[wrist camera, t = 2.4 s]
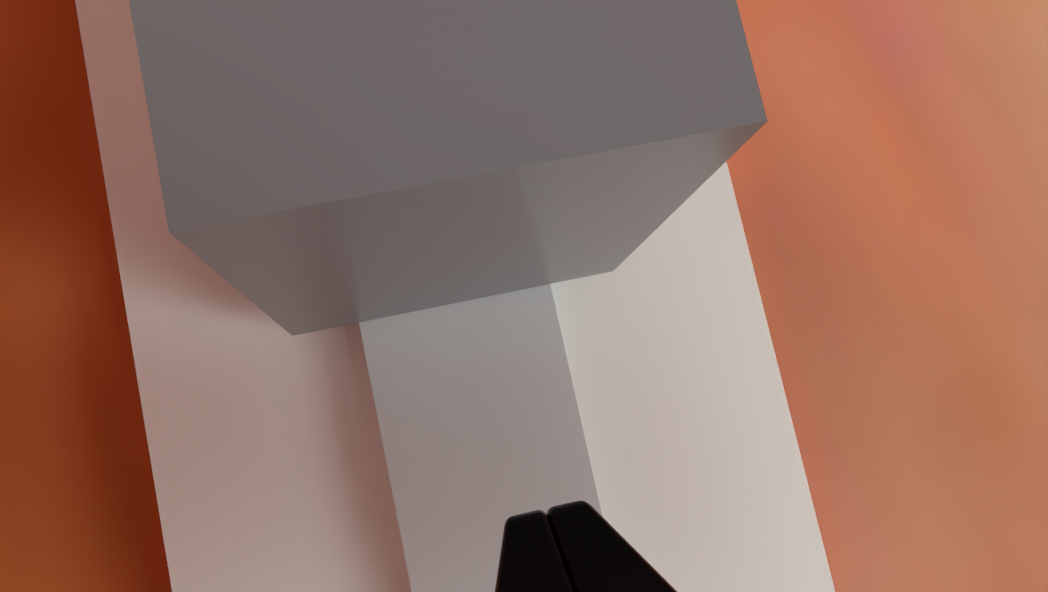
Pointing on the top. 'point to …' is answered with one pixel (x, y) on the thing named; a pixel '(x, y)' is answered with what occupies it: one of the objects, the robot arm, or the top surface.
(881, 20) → the top surface
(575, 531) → the robot arm
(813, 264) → the top surface
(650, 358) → the rail plate
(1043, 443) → the top surface
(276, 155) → the plate
